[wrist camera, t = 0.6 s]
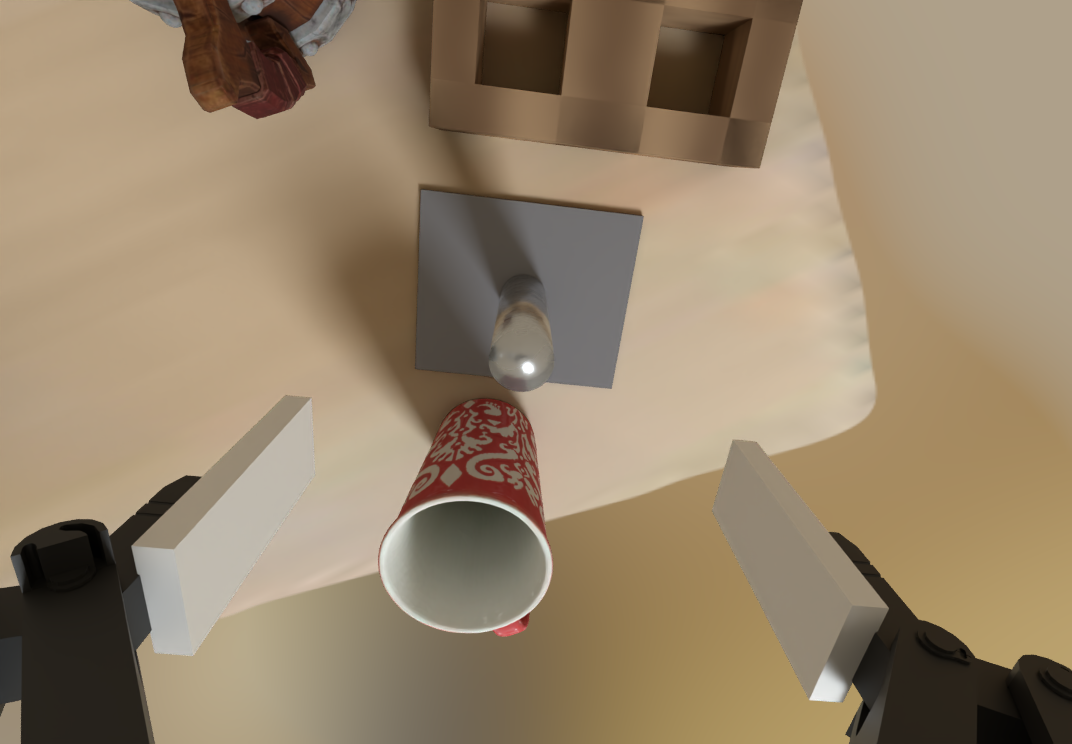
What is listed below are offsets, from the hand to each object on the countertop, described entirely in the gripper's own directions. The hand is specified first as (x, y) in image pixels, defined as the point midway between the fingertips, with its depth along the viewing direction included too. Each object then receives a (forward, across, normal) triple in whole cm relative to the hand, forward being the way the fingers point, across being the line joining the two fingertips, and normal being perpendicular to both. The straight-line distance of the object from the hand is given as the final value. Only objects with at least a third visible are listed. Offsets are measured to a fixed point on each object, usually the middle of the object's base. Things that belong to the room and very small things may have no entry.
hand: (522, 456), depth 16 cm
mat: (+20, 0, 0) cm, 20 cm away
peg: (+20, 0, 0) cm, 20 cm away
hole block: (+20, +3, +14) cm, 25 cm away
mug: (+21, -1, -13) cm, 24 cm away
